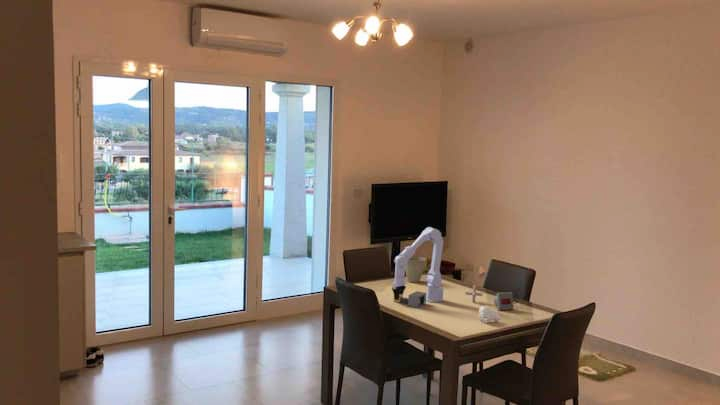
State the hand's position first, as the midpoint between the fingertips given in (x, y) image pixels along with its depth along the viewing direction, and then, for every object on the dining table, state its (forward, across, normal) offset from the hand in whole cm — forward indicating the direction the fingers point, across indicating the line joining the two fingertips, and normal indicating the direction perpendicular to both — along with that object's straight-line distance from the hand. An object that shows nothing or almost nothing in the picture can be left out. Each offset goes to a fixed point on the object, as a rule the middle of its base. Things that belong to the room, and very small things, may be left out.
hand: (398, 298), depth 358 cm
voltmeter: (+2, -32, +58) cm, 66 cm away
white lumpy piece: (+2, +7, +57) cm, 58 cm away
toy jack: (+2, -29, +37) cm, 47 cm away
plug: (+2, 0, +6) cm, 6 cm away
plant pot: (+2, -56, -14) cm, 58 cm away
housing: (+2, 0, +12) cm, 12 cm away
